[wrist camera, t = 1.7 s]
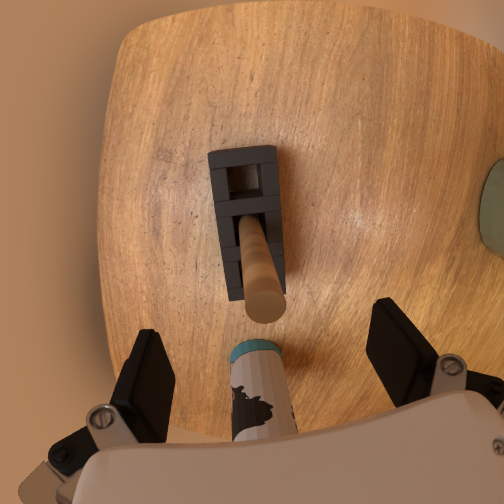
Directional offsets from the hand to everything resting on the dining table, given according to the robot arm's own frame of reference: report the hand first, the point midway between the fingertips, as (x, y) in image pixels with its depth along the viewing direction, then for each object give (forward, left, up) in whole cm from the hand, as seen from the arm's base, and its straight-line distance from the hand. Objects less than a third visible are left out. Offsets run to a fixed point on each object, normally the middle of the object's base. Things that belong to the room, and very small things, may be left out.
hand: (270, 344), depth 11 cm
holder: (0, 0, -18) cm, 18 cm away
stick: (0, 0, -18) cm, 18 cm away
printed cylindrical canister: (+19, -1, -19) cm, 26 cm away
